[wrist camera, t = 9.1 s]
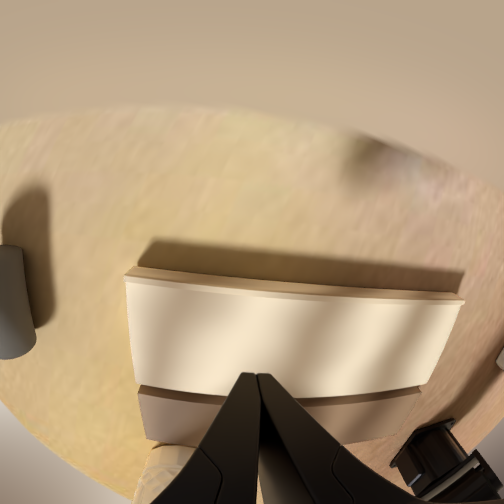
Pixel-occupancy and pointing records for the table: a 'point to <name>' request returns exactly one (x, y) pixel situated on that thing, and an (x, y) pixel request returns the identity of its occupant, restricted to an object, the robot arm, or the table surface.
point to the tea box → (501, 360)
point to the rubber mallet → (14, 306)
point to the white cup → (160, 471)
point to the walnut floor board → (320, 408)
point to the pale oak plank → (282, 333)
